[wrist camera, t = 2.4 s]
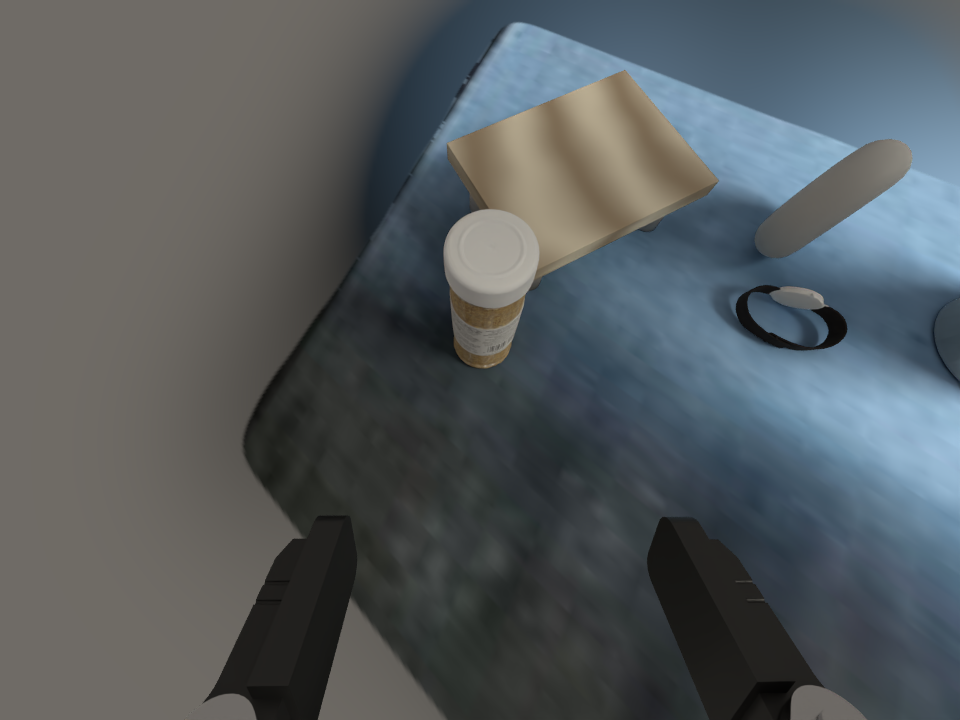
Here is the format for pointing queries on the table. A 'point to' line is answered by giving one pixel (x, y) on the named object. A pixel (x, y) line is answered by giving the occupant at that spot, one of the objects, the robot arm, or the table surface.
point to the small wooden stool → (582, 169)
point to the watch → (794, 299)
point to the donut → (833, 197)
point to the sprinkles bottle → (488, 282)
